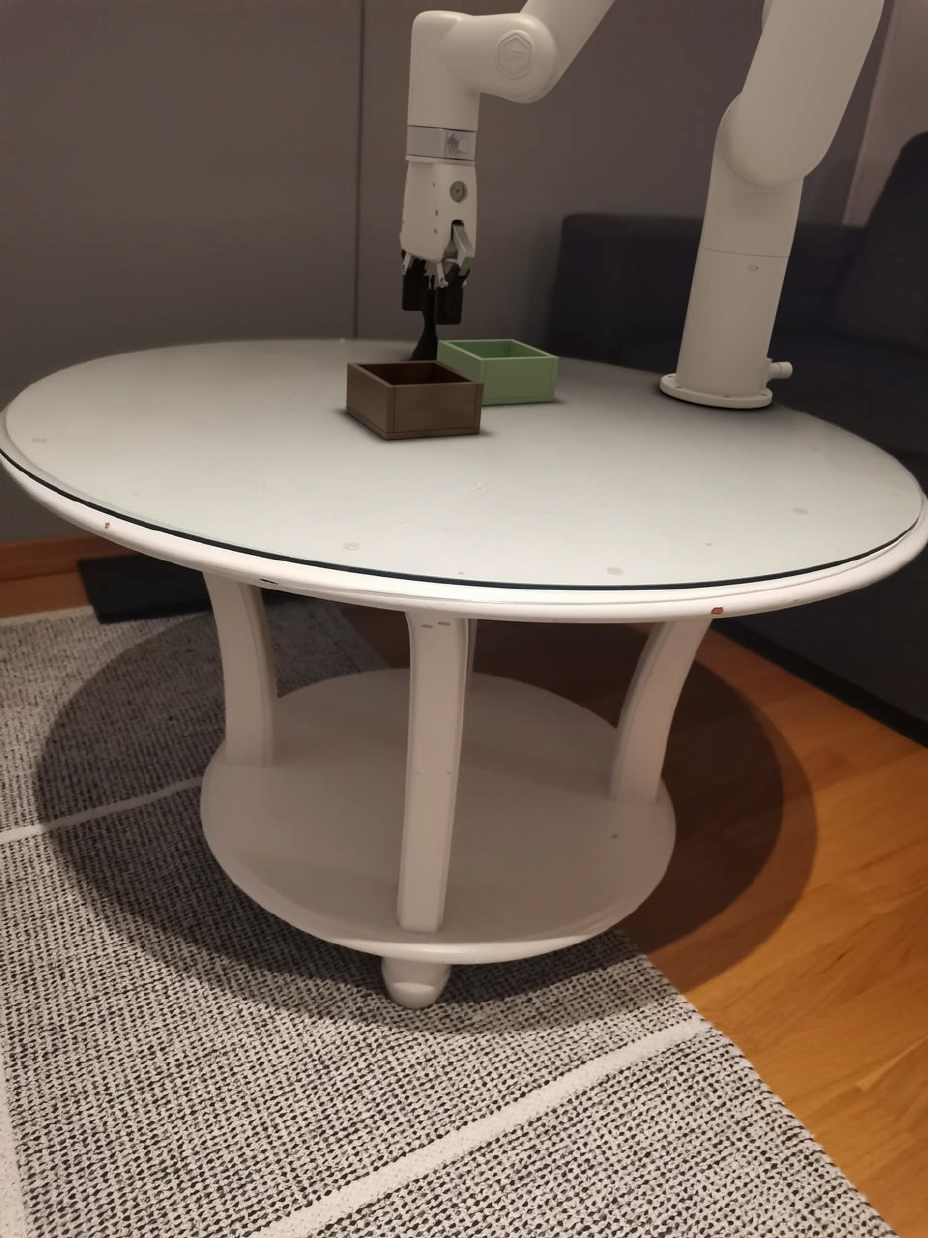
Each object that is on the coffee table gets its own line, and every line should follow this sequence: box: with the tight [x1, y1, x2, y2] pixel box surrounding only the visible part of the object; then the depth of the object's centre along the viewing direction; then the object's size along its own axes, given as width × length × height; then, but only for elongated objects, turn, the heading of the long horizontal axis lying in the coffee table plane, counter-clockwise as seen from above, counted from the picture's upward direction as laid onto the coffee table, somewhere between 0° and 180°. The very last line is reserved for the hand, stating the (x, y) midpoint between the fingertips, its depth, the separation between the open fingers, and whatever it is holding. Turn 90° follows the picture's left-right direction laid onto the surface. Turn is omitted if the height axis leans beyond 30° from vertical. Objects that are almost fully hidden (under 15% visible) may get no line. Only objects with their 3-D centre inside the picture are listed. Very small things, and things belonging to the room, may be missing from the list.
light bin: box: [437, 338, 560, 406], centre depth 100 cm, size 9×9×5 cm
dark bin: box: [345, 360, 484, 441], centre depth 87 cm, size 9×9×5 cm
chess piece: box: [408, 274, 440, 361], centre depth 109 cm, size 4×4×10 cm
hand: (430, 316), depth 109 cm, fingers open, 7 cm apart
